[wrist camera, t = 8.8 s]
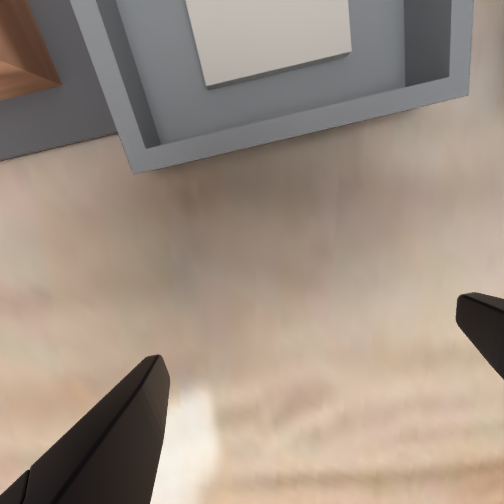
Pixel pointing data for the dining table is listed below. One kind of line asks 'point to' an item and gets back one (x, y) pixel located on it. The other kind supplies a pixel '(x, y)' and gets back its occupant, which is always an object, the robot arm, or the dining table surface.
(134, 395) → the robot arm
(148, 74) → the crate
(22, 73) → the block
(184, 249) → the dining table surface
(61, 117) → the mat
